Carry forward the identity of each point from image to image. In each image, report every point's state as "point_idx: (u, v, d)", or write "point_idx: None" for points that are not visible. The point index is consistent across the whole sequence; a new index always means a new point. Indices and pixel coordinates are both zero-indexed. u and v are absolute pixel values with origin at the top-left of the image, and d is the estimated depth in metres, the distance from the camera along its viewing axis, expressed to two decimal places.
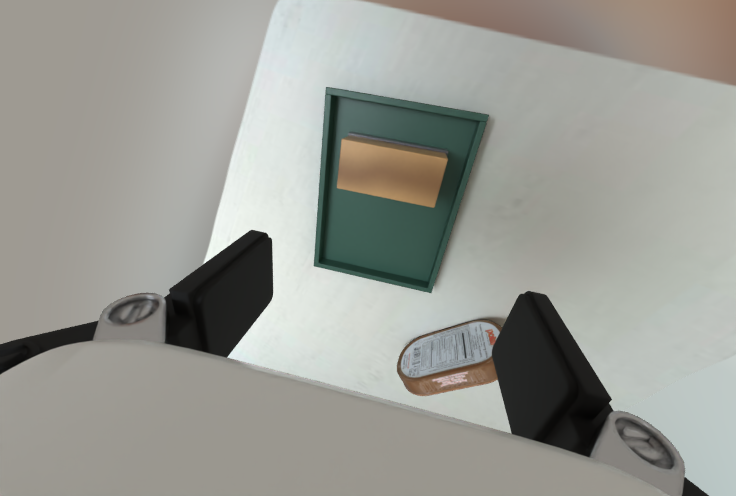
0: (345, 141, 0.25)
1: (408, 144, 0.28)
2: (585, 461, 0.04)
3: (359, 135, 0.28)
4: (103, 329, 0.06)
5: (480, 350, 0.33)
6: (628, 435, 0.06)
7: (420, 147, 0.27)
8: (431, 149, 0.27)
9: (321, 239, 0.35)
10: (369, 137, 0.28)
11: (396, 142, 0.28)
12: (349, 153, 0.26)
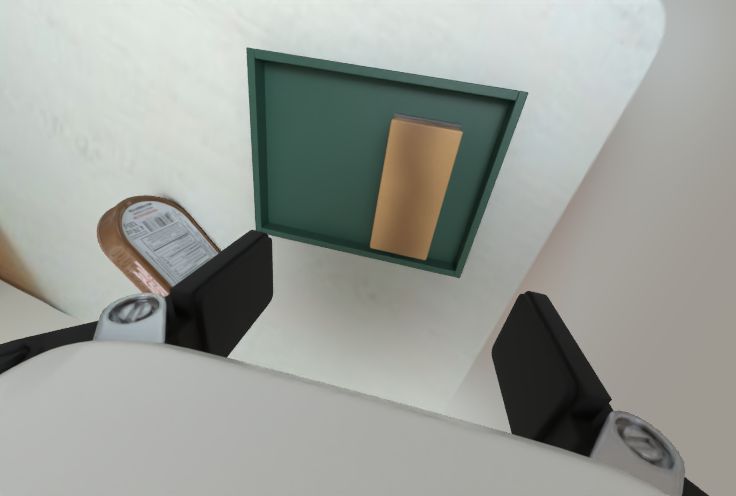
0: (458, 137, 0.18)
1: None
2: (585, 461, 0.04)
3: None
4: (103, 329, 0.06)
5: None
6: (628, 435, 0.06)
7: None
8: None
9: (297, 65, 0.21)
10: None
11: None
12: (440, 143, 0.18)
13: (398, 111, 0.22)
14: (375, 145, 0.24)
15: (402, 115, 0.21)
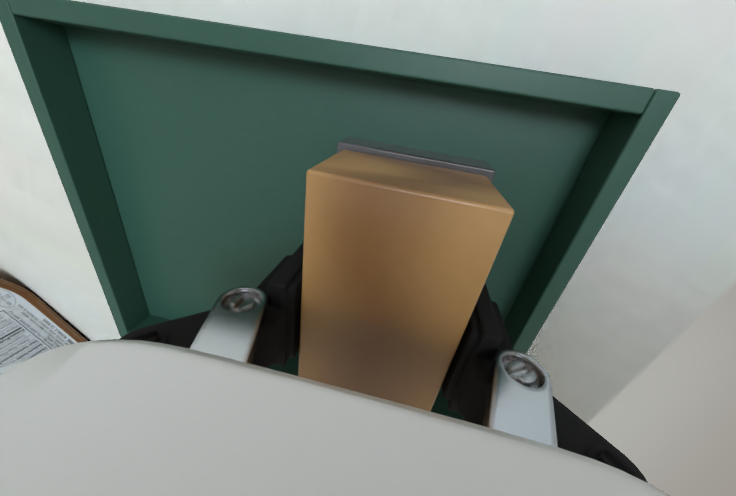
0: (501, 225, 0.06)
1: None
2: (585, 461, 0.04)
3: None
4: (223, 317, 0.07)
5: None
6: (512, 369, 0.07)
7: None
8: None
9: (116, 32, 0.09)
10: None
11: None
12: (448, 237, 0.06)
13: (352, 134, 0.10)
14: None
15: (356, 146, 0.09)
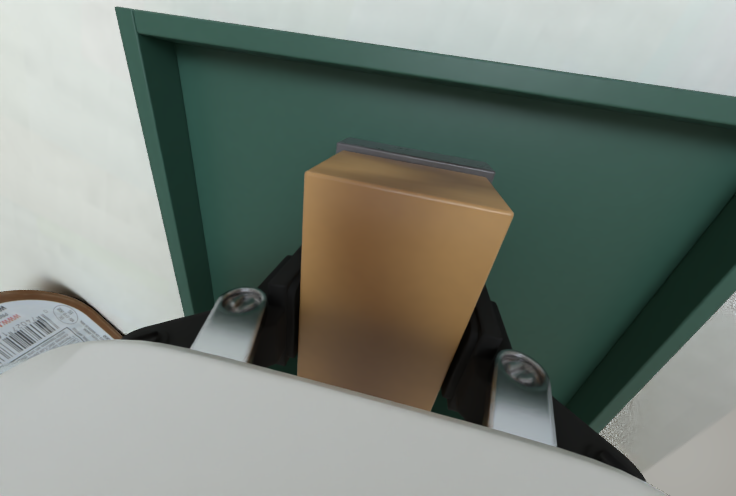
0: (500, 228, 0.06)
1: None
2: (585, 461, 0.04)
3: None
4: (224, 317, 0.07)
5: None
6: (511, 368, 0.07)
7: None
8: None
9: (243, 51, 0.09)
10: None
11: None
12: (447, 239, 0.06)
13: (478, 155, 0.10)
14: None
15: (355, 147, 0.09)
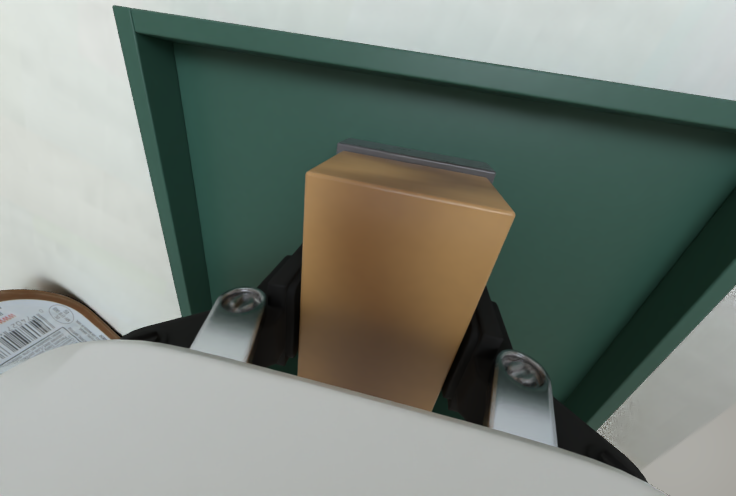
0: (502, 228, 0.06)
1: None
2: (585, 461, 0.04)
3: None
4: (223, 317, 0.07)
5: None
6: (512, 369, 0.07)
7: None
8: None
9: (242, 51, 0.09)
10: None
11: None
12: (449, 239, 0.06)
13: (476, 156, 0.10)
14: None
15: (355, 147, 0.09)
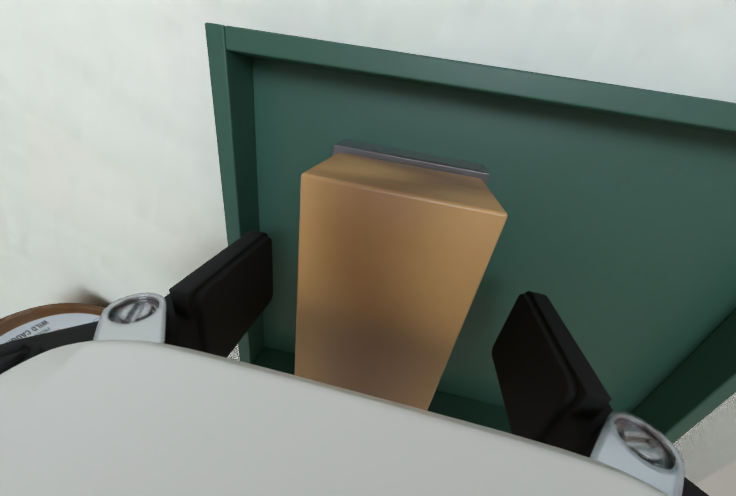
0: (494, 229, 0.06)
1: None
2: (585, 461, 0.04)
3: None
4: (103, 329, 0.06)
5: None
6: (628, 435, 0.06)
7: None
8: None
9: (334, 68, 0.08)
10: None
11: None
12: (442, 240, 0.06)
13: (563, 174, 0.10)
14: None
15: (351, 149, 0.09)
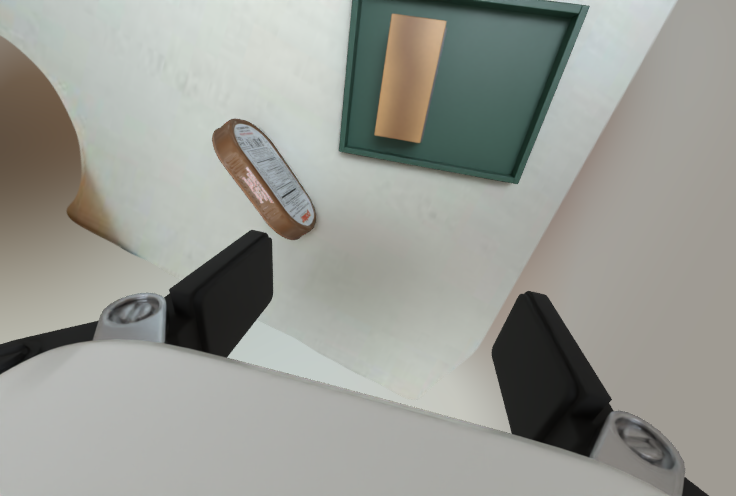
0: (443, 26, 0.23)
1: (430, 101, 0.29)
2: (585, 461, 0.04)
3: (443, 42, 0.26)
4: (103, 329, 0.06)
5: (293, 209, 0.33)
6: (628, 435, 0.06)
7: (426, 114, 0.29)
8: (424, 125, 0.30)
9: None
10: (440, 55, 0.27)
11: (432, 88, 0.28)
12: (429, 31, 0.24)
13: (475, 32, 0.27)
14: (451, 65, 0.28)
15: None
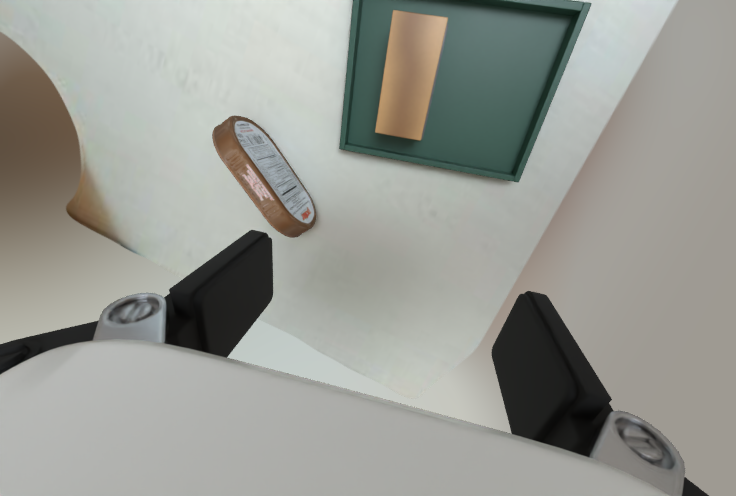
0: (444, 22, 0.23)
1: (431, 99, 0.29)
2: (585, 461, 0.04)
3: (444, 39, 0.26)
4: (103, 329, 0.06)
5: (293, 206, 0.33)
6: (628, 435, 0.06)
7: (427, 111, 0.29)
8: (425, 123, 0.30)
9: None
10: (441, 52, 0.27)
11: (433, 85, 0.28)
12: (431, 28, 0.23)
13: (476, 30, 0.27)
14: (453, 62, 0.28)
15: None
